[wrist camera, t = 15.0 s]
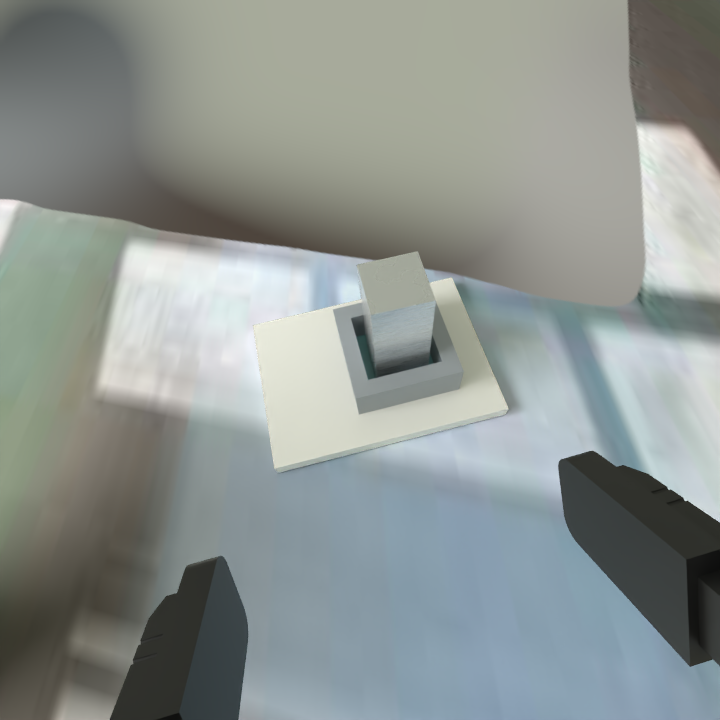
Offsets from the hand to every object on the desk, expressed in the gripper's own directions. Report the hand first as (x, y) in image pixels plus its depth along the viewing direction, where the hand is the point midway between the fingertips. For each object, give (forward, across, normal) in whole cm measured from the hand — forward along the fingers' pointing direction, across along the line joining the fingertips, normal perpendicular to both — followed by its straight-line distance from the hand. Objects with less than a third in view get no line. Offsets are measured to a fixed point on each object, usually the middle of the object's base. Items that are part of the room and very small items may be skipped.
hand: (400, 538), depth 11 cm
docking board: (+27, -3, +5) cm, 28 cm away
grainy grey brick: (+26, -5, +4) cm, 27 cm away
